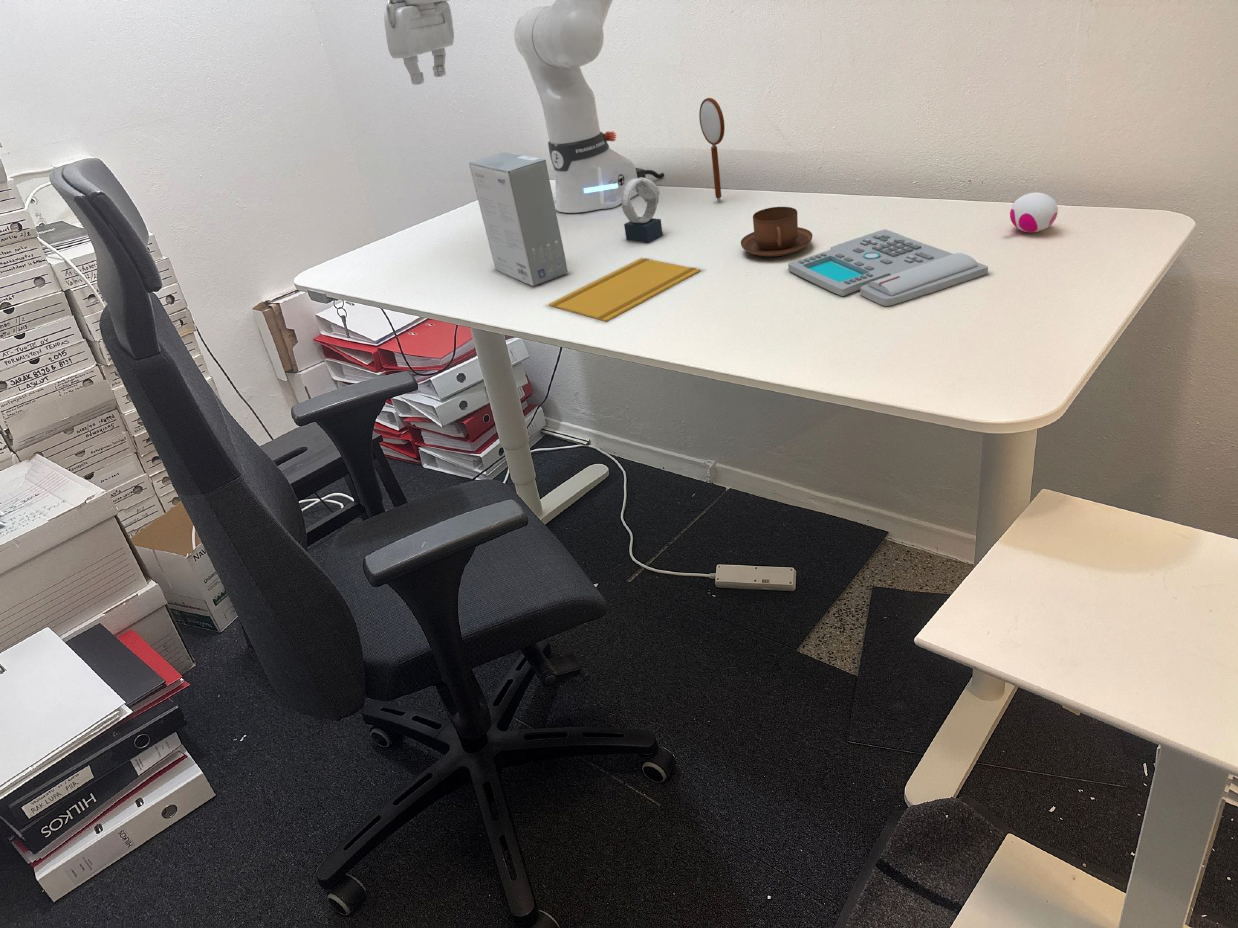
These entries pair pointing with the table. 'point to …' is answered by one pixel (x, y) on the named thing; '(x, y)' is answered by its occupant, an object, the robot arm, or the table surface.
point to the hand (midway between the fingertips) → (429, 80)
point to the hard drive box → (519, 216)
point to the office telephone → (887, 268)
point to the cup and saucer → (776, 233)
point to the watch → (646, 225)
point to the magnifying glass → (713, 134)
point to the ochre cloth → (624, 289)
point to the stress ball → (1033, 212)
